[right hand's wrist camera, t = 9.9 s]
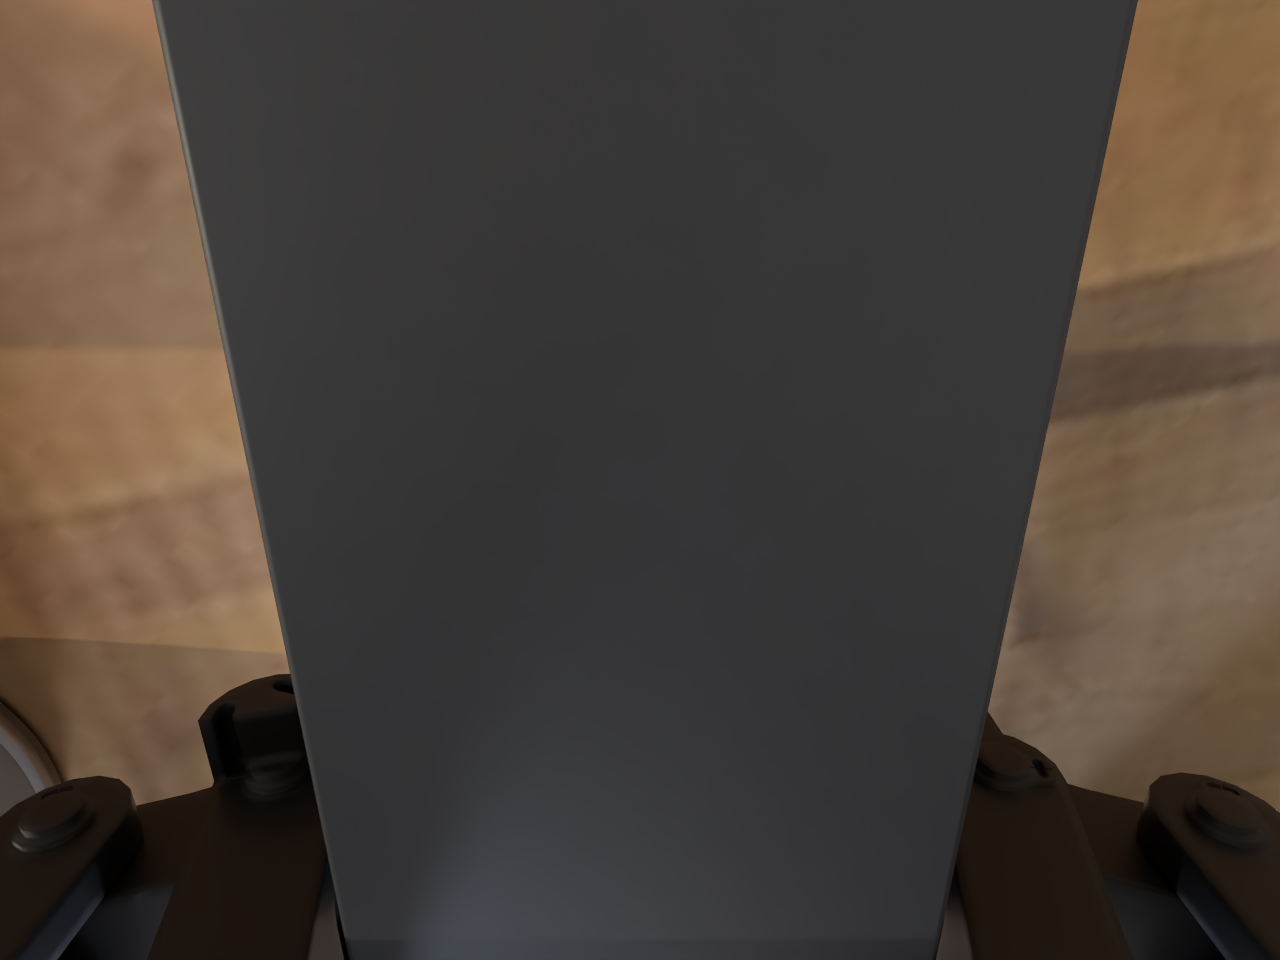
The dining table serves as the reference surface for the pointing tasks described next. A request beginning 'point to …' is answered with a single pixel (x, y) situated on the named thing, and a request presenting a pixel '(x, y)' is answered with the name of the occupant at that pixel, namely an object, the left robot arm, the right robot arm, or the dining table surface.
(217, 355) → the dining table surface
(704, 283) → the bar
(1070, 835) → the right robot arm
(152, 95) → the dining table surface
